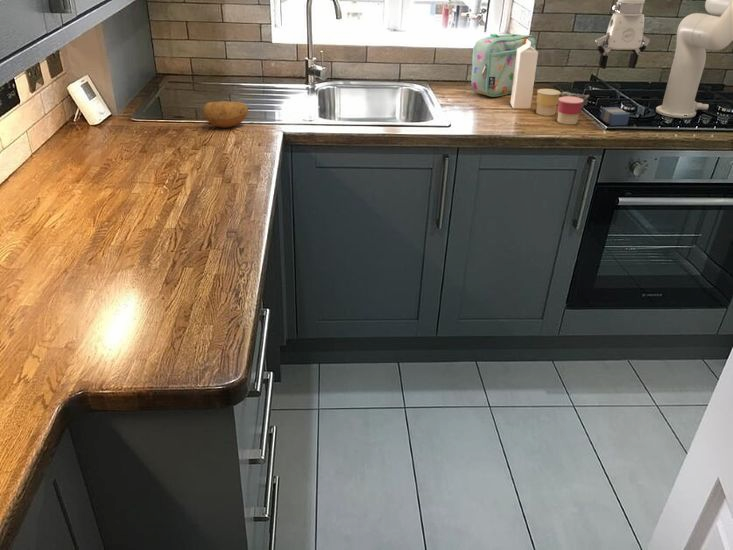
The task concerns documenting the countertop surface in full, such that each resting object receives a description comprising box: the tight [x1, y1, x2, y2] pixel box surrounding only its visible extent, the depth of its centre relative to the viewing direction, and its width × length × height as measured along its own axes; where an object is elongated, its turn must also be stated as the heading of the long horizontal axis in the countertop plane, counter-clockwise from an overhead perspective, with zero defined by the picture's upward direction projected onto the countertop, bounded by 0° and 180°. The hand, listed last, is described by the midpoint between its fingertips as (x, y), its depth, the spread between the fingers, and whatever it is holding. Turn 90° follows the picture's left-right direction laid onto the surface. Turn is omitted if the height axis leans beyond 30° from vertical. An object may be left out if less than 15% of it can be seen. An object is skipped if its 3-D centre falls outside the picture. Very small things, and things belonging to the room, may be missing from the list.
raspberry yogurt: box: [556, 96, 583, 125], centre depth 198 cm, size 8×8×7 cm
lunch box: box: [470, 33, 537, 98], centre depth 225 cm, size 27×10×21 cm, turn 127°
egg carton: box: [556, 91, 590, 109], centre depth 216 cm, size 11×8×4 cm
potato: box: [202, 100, 249, 129], centre depth 192 cm, size 10×14×8 cm
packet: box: [599, 106, 630, 127], centre depth 199 cm, size 6×8×4 cm
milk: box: [509, 39, 539, 109], centre depth 210 cm, size 6×6×22 cm
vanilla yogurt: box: [535, 88, 561, 117], centre depth 207 cm, size 8×8×7 cm
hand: (616, 67), depth 192 cm, fingers open, 9 cm apart
